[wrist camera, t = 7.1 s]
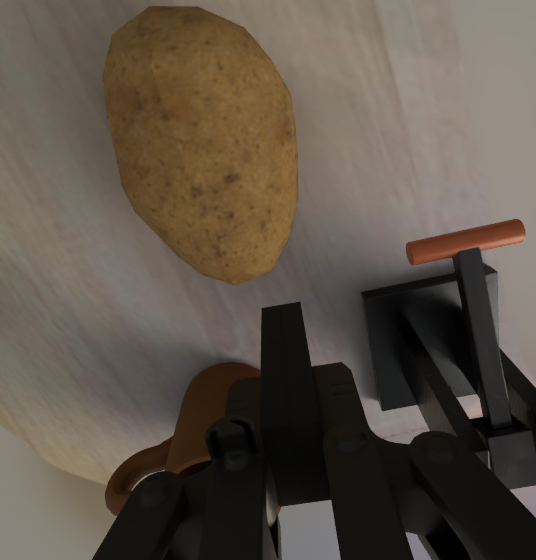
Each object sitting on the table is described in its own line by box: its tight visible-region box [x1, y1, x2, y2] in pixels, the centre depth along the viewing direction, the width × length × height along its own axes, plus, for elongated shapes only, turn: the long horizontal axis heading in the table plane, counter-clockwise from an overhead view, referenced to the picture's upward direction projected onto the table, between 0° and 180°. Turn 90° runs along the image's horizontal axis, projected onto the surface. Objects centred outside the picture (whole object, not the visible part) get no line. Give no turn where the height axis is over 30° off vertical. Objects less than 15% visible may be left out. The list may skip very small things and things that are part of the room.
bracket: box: [361, 266, 536, 469], centre depth 27 cm, size 10×9×13 cm
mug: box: [105, 363, 282, 516], centre depth 31 cm, size 12×8×9 cm, turn 104°
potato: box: [103, 6, 298, 285], centre depth 23 cm, size 10×14×8 cm
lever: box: [406, 219, 536, 490], centre depth 22 cm, size 13×6×2 cm, turn 13°
